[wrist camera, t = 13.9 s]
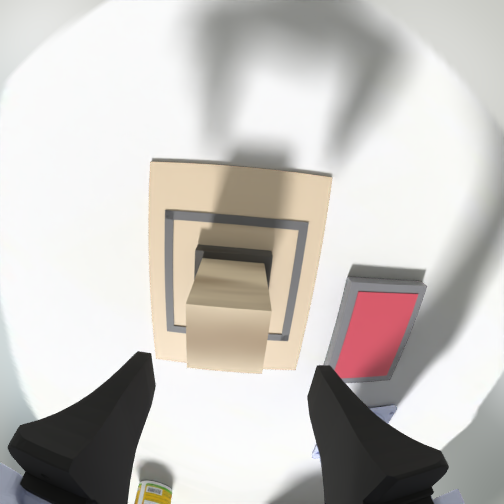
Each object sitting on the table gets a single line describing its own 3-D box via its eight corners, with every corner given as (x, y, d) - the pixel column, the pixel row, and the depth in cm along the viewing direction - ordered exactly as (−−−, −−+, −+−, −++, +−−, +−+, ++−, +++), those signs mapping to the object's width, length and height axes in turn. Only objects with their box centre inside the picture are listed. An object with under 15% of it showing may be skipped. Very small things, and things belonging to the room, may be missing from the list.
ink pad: (386, 373, 25) (390, 380, 24) (319, 376, 25) (322, 384, 24) (421, 281, 22) (427, 286, 21) (347, 276, 21) (351, 282, 20)
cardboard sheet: (295, 368, 24) (295, 370, 24) (156, 357, 23) (155, 359, 23) (331, 177, 19) (332, 177, 19) (151, 161, 18) (149, 161, 18)
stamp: (263, 313, 22) (269, 380, 15) (196, 308, 22) (178, 372, 15) (271, 250, 20) (284, 302, 13) (197, 244, 20) (175, 293, 13)
